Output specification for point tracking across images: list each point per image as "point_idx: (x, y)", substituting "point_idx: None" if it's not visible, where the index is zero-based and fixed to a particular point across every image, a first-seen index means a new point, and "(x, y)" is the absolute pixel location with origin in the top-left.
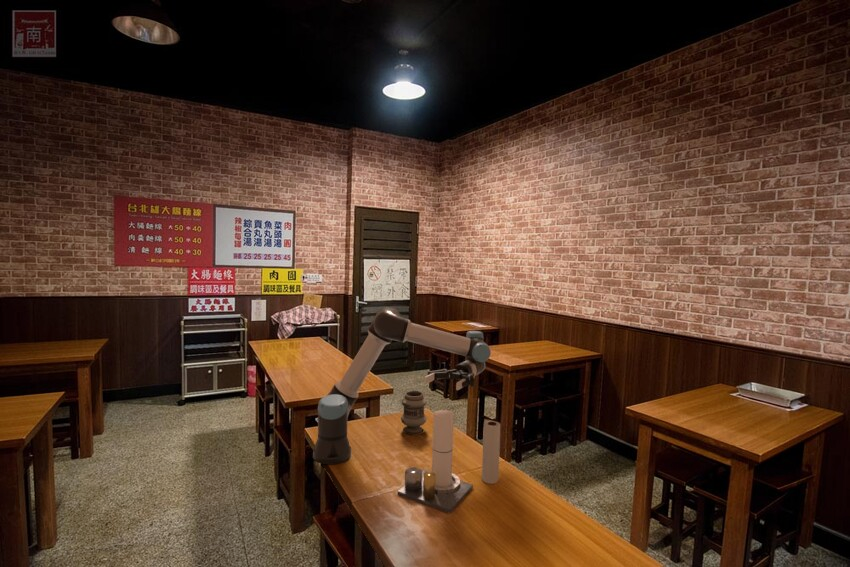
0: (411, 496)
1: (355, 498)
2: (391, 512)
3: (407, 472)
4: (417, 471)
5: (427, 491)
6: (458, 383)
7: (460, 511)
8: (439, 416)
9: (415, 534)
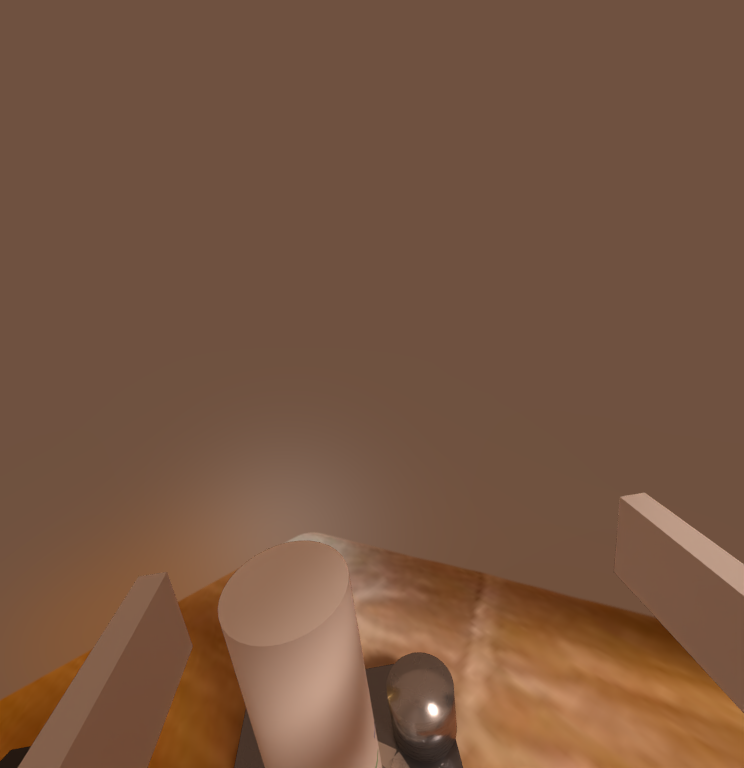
0: (384, 666)
1: (493, 581)
2: (387, 600)
3: (430, 663)
4: (409, 696)
5: None
6: (135, 592)
7: (223, 734)
8: (291, 546)
9: None
